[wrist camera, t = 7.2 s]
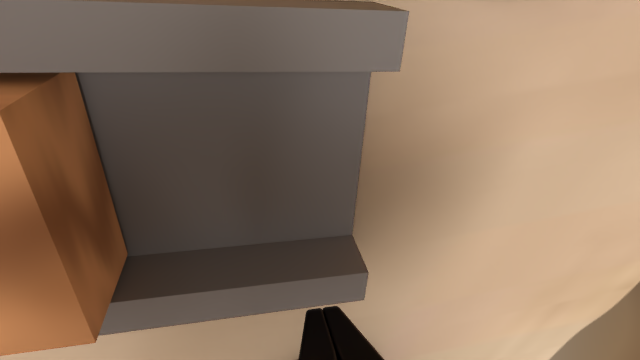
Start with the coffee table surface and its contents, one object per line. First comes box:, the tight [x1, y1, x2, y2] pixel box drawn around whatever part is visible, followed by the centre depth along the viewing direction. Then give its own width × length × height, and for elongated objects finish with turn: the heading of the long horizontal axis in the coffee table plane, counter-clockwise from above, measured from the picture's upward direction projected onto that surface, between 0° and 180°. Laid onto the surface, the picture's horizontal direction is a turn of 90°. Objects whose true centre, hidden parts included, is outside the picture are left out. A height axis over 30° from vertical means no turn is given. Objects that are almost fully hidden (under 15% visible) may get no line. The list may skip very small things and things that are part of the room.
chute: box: [0, 0, 409, 336], centre depth 15 cm, size 14×20×4 cm
